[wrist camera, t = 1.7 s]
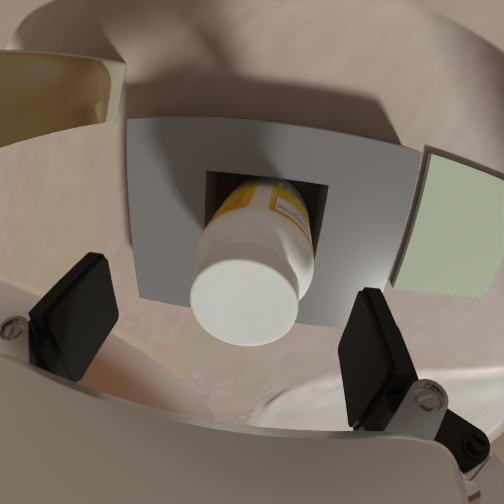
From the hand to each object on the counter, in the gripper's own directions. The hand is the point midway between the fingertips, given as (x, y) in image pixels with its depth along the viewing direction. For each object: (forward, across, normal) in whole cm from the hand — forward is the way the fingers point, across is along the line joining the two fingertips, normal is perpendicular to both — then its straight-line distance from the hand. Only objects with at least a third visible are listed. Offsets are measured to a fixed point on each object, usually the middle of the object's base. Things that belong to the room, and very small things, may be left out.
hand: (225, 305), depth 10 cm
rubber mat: (+9, -16, -1) cm, 18 cm away
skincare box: (+10, +12, -8) cm, 18 cm away
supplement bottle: (+10, -1, 0) cm, 10 cm away
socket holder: (+10, -1, 0) cm, 10 cm away
